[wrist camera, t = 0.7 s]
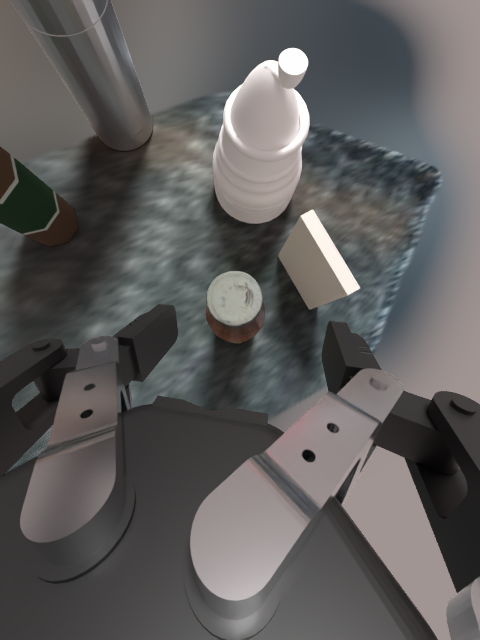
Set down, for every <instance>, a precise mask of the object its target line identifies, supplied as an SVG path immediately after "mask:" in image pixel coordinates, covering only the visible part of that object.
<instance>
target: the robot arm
mask: <svg viewBox="0 0 480 640" xmlns="http://www.w3.org/2000/svg"><path fill="white" fill-rule="evenodd" d="M11 2H12V4H13V5H14V7H15V8H16V10H17V11H18V13H19V14H20V16H21V17H22V19H23V20H24V22H25V23H26V25H27V27H28V28H29V30H30V31H31V33H32V34H33V36H34V37H35V39H36V40H37V42H38V43H39V45H40V47H41V48H42V50H43V51H44V53H45V54H46V56H47V57H48V59H49V61H50V62H51V64H52V65H53V67H54V68H55V70H56V71H57V73H58V74H59V76H60V78H61V79H62V81H63V82H64V84H65V85H66V87H67V88H68V90H69V91H70V93H71V95H72V96H73V98H74V99H75V101H76V102H77V104H78V105H79V107H80V109H81V110H82V112H83V113H84V115H85V117H86V118H87V119H88V121H89V123H90V124H91V126H92V127H93V129H94V130H95V132H96V134H97V135H98V137H99V138H100V139H101V141H102V142H103V143H104V144H106V145H107V146H108V147H110V148H112V149H115V150H119V151H128V150H133V149H136V148H138V147H140V146H142V145H143V144H144V143H145V142H146V141H147V140H148V139H149V137H150V135H151V133H152V129H153V120H152V117H151V114H150V111H149V108H148V105H147V102H146V99H145V97H144V94H143V91H142V88H141V85H140V82H139V79H138V76H137V73H136V71H135V68H134V65H133V62H132V59H131V57H130V54H129V51H128V48H127V45H126V42H125V39H124V36H123V34H122V31H121V28H120V25H119V22H118V19H117V17H116V14H115V11H114V8H113V5H112V2H111V0H11ZM177 336H178V328H177V320H176V312H175V308H174V306H173V305H164V304H158V305H157V306H156V307H154V308H153V309H152V310H150V311H149V312H147V313H145V314H143V315H140V316H139V317H137V318H136V319H135V320H134V321H132V322H131V323H130V324H129V325H127V326H126V327H124V328H123V329H122V330H120V331H119V332H118V333H116V334H115V335H114V336H99V337H95V338H92V339H90V340H88V341H86V342H85V343H83V344H82V345H81V347H80V348H76V349H65V347H64V345H63V342H62V340H60V339H45V340H41V341H37V342H34V343H32V344H30V345H28V346H26V347H24V348H22V349H21V350H19V351H17V352H16V353H14V354H12V355H10V356H9V357H7V358H5V359H4V360H2V361H0V640H438V639H437V638H436V636H435V634H434V632H433V631H432V629H431V628H430V626H429V625H428V623H427V622H426V621H425V619H424V618H423V616H422V615H421V613H420V612H419V611H418V609H417V608H416V607H415V605H414V604H413V602H412V601H411V600H410V598H409V597H408V596H407V594H406V593H405V592H404V590H403V589H402V587H401V586H400V585H399V583H398V582H397V581H396V579H395V578H394V577H393V575H392V574H391V572H390V571H389V570H388V568H387V567H386V566H385V564H384V563H383V561H382V560H381V559H380V557H379V556H378V555H377V553H376V552H375V550H374V549H373V548H372V546H371V545H370V544H369V542H368V541H367V540H366V538H365V537H364V535H363V534H362V533H361V531H360V530H359V528H358V527H357V526H356V525H355V523H354V522H353V520H352V519H351V518H350V516H349V515H348V513H347V512H346V511H345V509H344V508H343V505H344V503H345V502H346V500H347V498H348V496H349V494H350V493H351V491H352V489H353V487H354V485H355V483H356V481H357V480H358V478H359V476H360V475H361V473H362V472H363V469H364V468H365V467H366V465H367V463H368V462H369V460H370V458H371V457H372V455H373V454H374V452H375V450H376V449H377V447H378V446H379V447H382V448H384V449H386V450H389V451H391V452H393V453H395V454H398V455H400V456H403V457H405V460H406V463H407V465H408V468H409V470H410V473H411V476H412V478H413V481H414V483H415V486H416V489H417V491H418V493H419V496H420V499H421V501H422V504H423V507H424V509H425V512H426V514H427V517H428V520H429V522H430V525H431V527H432V530H433V532H434V535H435V537H436V540H437V543H438V545H439V548H440V550H441V553H442V555H443V558H444V561H445V563H446V566H447V568H448V571H449V574H450V576H451V579H452V581H453V584H454V587H455V589H456V592H457V594H456V595H455V596H453V597H452V598H451V599H450V600H449V602H448V605H447V612H446V615H447V624H448V628H449V632H450V637H451V640H480V405H479V404H478V403H476V402H475V401H473V400H471V399H470V398H467V397H465V396H462V395H460V394H457V393H453V392H447V391H441V392H437V393H436V394H435V395H434V397H433V398H432V400H429V399H426V398H423V397H420V396H417V395H414V394H411V393H408V392H406V391H403V386H402V384H401V383H400V382H399V380H398V379H396V378H395V377H394V376H392V375H391V374H389V373H387V372H384V371H382V370H381V368H380V367H379V365H378V363H377V361H376V359H375V357H374V356H373V354H372V352H371V350H370V348H369V346H368V345H367V343H366V341H365V340H364V339H363V338H362V337H361V336H359V335H358V334H355V333H351V331H350V329H349V327H348V325H347V323H345V322H335V321H329V323H328V326H327V330H326V335H325V340H324V344H323V349H322V362H323V367H324V372H325V377H326V382H327V386H328V391H329V392H328V393H327V394H325V395H324V396H323V397H322V398H321V399H320V400H319V401H318V402H317V403H316V404H315V405H314V406H313V407H312V408H311V409H309V410H308V412H306V413H305V414H304V415H303V416H302V417H301V418H300V419H299V420H298V421H297V422H296V423H295V424H294V425H293V426H291V427H290V428H289V429H288V430H287V431H286V432H285V433H284V432H282V431H281V430H280V429H278V428H276V427H274V426H272V425H270V424H268V423H267V421H268V414H265V413H259V412H253V411H247V410H241V409H233V410H206V409H203V408H201V407H199V406H196V405H194V404H192V403H189V402H187V401H185V400H181V399H175V398H169V397H163V396H157V398H156V399H155V401H154V402H153V404H148V405H142V406H138V407H134V408H133V407H132V397H131V388H130V385H129V383H130V382H131V381H132V380H133V381H140V382H143V381H144V380H145V378H146V377H147V376H148V375H149V374H150V372H151V371H152V370H153V369H154V367H155V366H156V365H157V364H158V363H159V361H160V360H161V359H162V358H163V356H164V355H165V354H166V353H167V352H168V350H169V349H170V348H171V347H172V345H173V344H174V343H175V342H176V340H177ZM33 380H34V382H35V384H36V386H37V388H38V390H39V392H40V393H39V394H38V395H37V396H36V397H35V398H33V399H32V400H31V401H30V402H28V403H27V404H26V405H25V406H24V407H22V408H21V409H20V410H19V411H17V412H15V411H14V409H13V408H12V399H13V397H14V396H15V394H16V393H17V392H19V391H20V390H21V389H23V388H24V387H25V386H27V385H28V384H29V383H31V382H32V381H33ZM52 425H53V427H52V430H51V434H50V438H49V442H48V446H47V448H46V450H45V451H43V452H42V453H41V454H40V455H39V456H38V457H36V458H34V459H32V460H30V461H28V462H27V463H25V464H23V465H21V466H19V467H17V468H15V469H13V470H11V471H9V472H8V473H6V472H7V471H8V470H9V469H10V468H11V467H12V466H13V465H14V464H15V463H16V462H17V461H18V460H19V458H20V457H21V456H22V455H23V454H24V453H25V452H26V451H27V450H28V449H29V448H30V447H31V446H32V445H33V444H34V443H35V442H36V441H37V440H38V439H39V438H40V437H41V436H42V435H43V434H44V433H45V432H46V431H47V430H48V429H49V428H50V427H51V426H52ZM5 473H6V474H5Z"/></svg>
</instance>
